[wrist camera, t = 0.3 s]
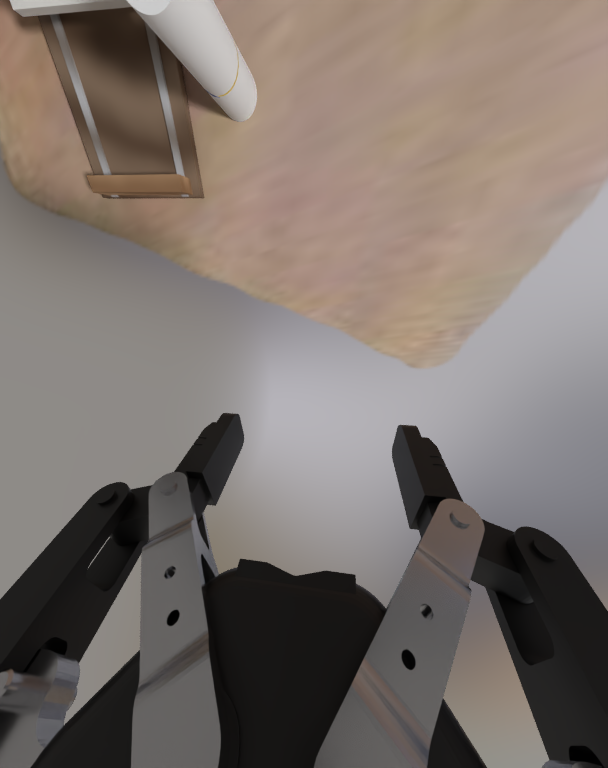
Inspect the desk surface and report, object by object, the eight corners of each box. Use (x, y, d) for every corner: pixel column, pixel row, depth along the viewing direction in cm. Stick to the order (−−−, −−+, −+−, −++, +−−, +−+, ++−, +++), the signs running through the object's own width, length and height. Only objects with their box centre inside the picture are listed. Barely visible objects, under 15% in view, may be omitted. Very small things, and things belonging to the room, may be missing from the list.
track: (-37, -222, 18) (-107, -308, 15) (125, -256, 17) (82, -357, 14) (108, 198, 32) (86, 194, 29) (204, 198, 31) (190, 193, 28)
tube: (254, 60, 24) (162, -138, 11) (258, 120, 26) (186, 11, 14) (215, 64, 24) (85, -123, 12) (223, 122, 27) (121, 18, 14)
